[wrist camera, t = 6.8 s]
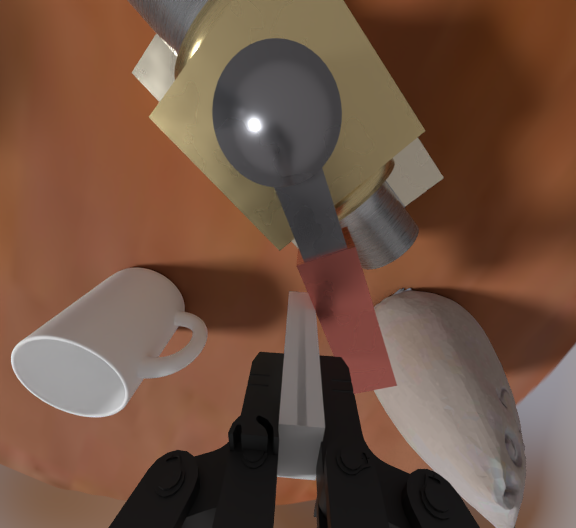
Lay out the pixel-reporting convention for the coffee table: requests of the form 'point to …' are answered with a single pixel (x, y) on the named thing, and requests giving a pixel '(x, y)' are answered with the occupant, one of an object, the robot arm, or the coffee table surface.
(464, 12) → the coffee table surface
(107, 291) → the mug
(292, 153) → the lever
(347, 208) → the valve body
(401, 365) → the sculpture
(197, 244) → the coffee table surface
